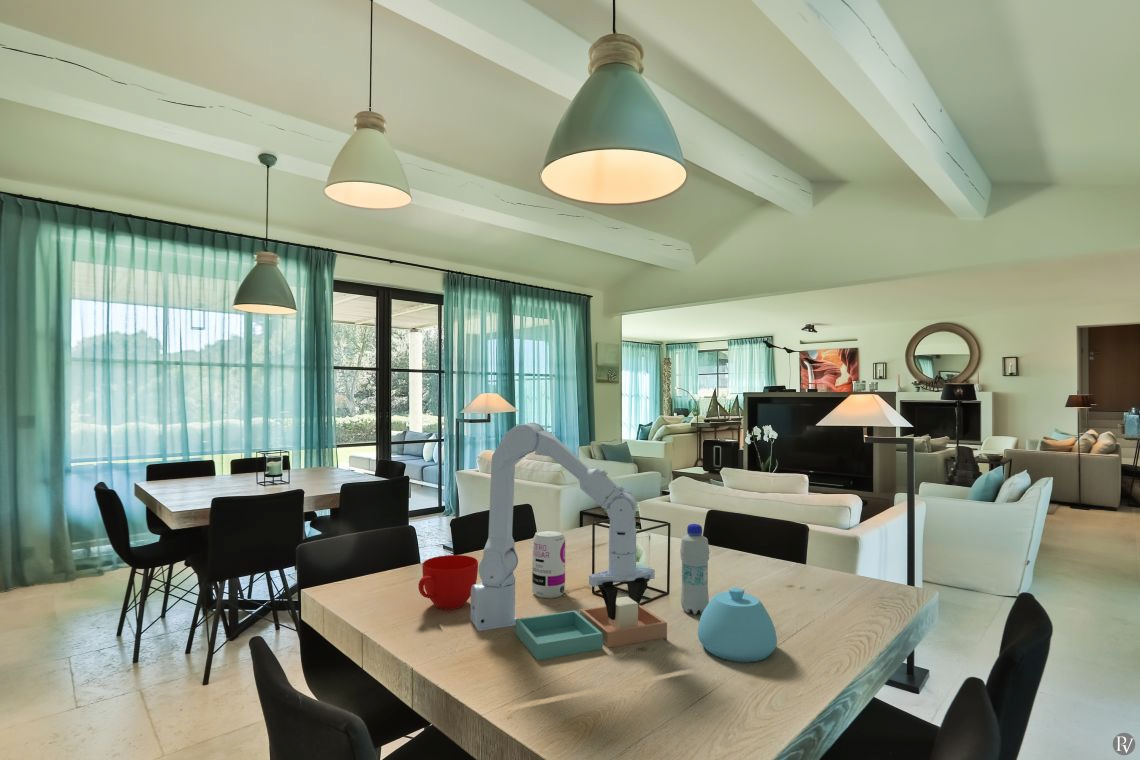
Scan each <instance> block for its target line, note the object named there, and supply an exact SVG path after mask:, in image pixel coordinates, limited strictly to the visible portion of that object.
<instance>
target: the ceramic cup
mask: <svg viewBox="0 0 1140 760" xmlns="http://www.w3.org/2000/svg"><path fill="white" fill-rule="evenodd" d="M478 570H479V560H478V559H477V558H475V557H473V556H471V555H470V556H469V555H462V554H454V555H453V554H449V555H448V554H447V555H440V556H435V557H431V558H428V559H426V560H424V561H423V562H422V577H421V578H420V579H419V582H418V592H419V594H420V595H421V596H422V597H424V598H426V599H430V601H431V602H432V604H434V605H435V607H436V608H438V609H440V610H455V609H459V608H462V607H463V606H465V604H466V603H467V601H468V600H469V599H470V598H471V587H472V585H474V584H477V580H478V574H479V571H478Z"/></svg>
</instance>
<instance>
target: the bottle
mask: <svg viewBox="0 0 1140 760" xmlns="http://www.w3.org/2000/svg"><path fill="white" fill-rule="evenodd" d="M686 528H687V529H686V530H687V531H686V532H687V533H686V535H683V536H682V537H681V542H680V548H679V551H680V556H679V557H680V559H681V591H680V605H681V608H682V610H683V611H685V613H686V614H690V613H691V611H692V614H693V615H697V613H698V611H699V614H700V615H702V613H703V611H704V609H705V608H706V606H707V605H708V603H709V602H710V601H709V597H710V596H709V595H710V594H709V580H708V579H709V578H708V577H709V575H708V574H709V573H708V572H709V571H708V567H709V565H708V564H709V563H708V562H709V560H710V548H709V540H708V538H707V537H705V536H704V535H703V528H702V525H701V524H697V523H690V524H688V526H687V527H686Z"/></svg>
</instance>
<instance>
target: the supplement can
mask: <svg viewBox="0 0 1140 760" xmlns="http://www.w3.org/2000/svg"><path fill="white" fill-rule="evenodd" d="M531 568H532V571H531V574H532V578H531V579H532V580H531V581H532V582H531V583H532V585H531V586H532V588H531V592H532V593H533V594H534V596H536V597H538V598H543V599H555V598H558V597H559V598H560V597H561V596H562V595H563V594H564V593H565V592H566V537H565V536H564V533H563V532H562V531H560V530H553V529H549V530H548V529H546V530H538V531H536V532H535V534H534V536H533V538H532V567H531Z"/></svg>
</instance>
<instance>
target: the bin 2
mask: <svg viewBox="0 0 1140 760" xmlns="http://www.w3.org/2000/svg"><path fill="white" fill-rule="evenodd" d="M579 614H580V615H582V616H583V617H584V618H585V619H586V620H587V621H589V622H590V623H591V624H592V625H593V626H595V627H596V628H597V629H598V630H599V631H600V632H602V633H603V645H604V646H605V647H606V648H607V649H609V648H615V647H620V646H621V647H622V646H627V645H632V644H637V643H644V642H649V641H655V640H661V639H662V640H663V641H667V640H668V622H666V621H665V620H663V619H662V618H661V617H659V616H657V615H656V614H654V613H653V612H651V611H650V610H648V609H647V608H646V607H644V606H642V605H641V604H639V608H638V626H635V627H629V628H623V629H615V628H614V627H613V626H612V625H611V624H609V617H608V614H607V609H606V605H602V606H596V607H590V608H581V609H579Z"/></svg>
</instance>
